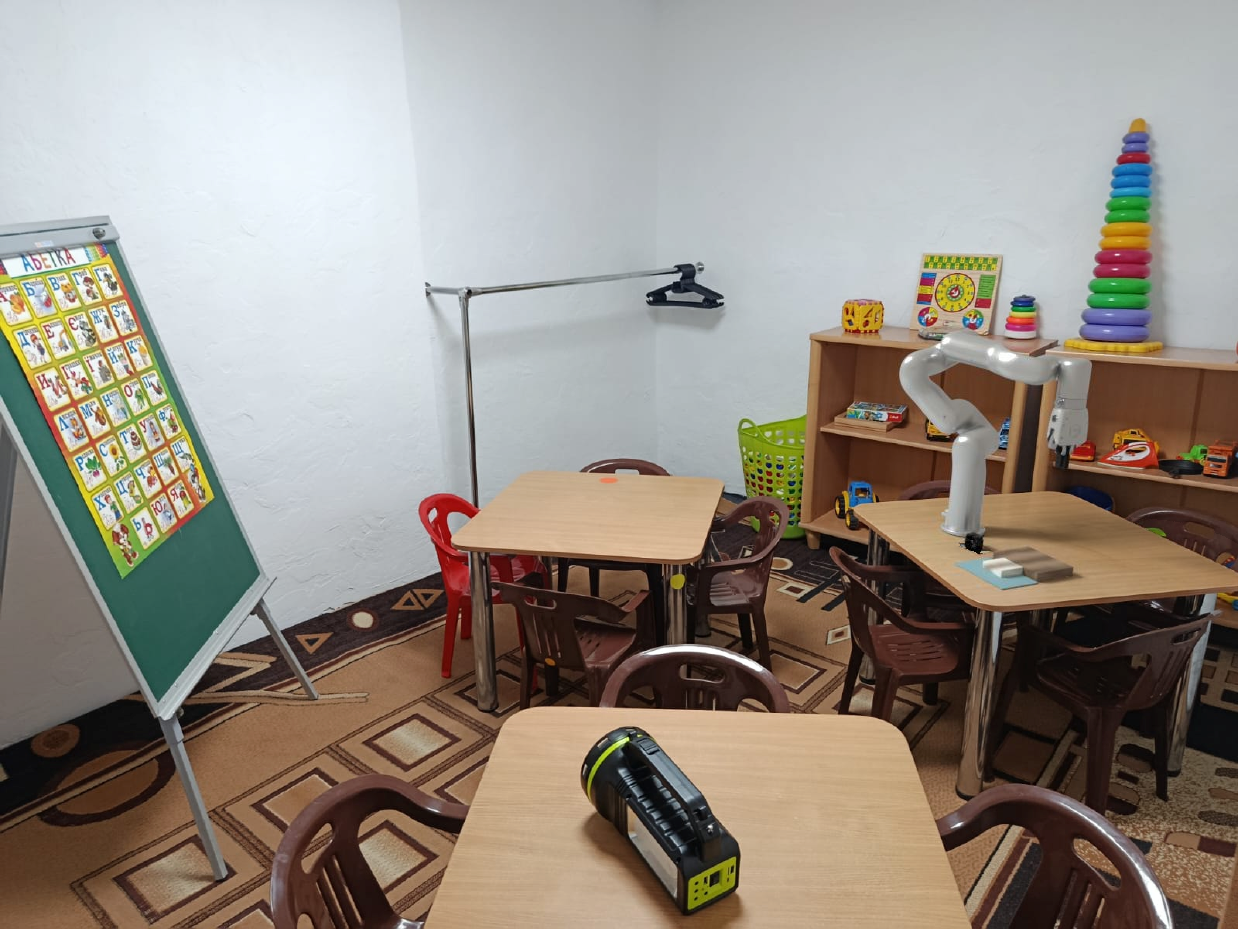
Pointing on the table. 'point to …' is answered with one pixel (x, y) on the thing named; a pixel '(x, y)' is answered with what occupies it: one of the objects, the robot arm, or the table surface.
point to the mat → (993, 579)
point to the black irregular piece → (974, 543)
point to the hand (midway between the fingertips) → (1061, 467)
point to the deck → (1035, 563)
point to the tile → (1002, 567)
